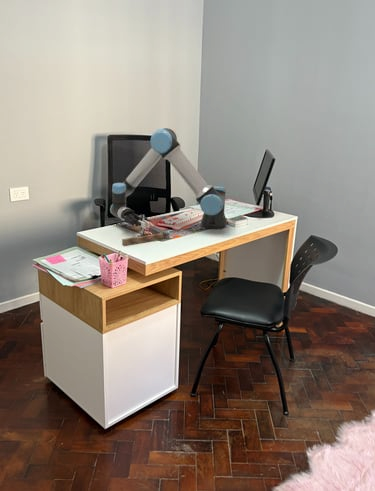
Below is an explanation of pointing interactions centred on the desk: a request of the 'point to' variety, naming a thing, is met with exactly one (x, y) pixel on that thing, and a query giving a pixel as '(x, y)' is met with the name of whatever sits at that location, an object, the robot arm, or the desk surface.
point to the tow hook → (143, 230)
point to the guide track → (147, 237)
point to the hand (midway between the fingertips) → (146, 225)
